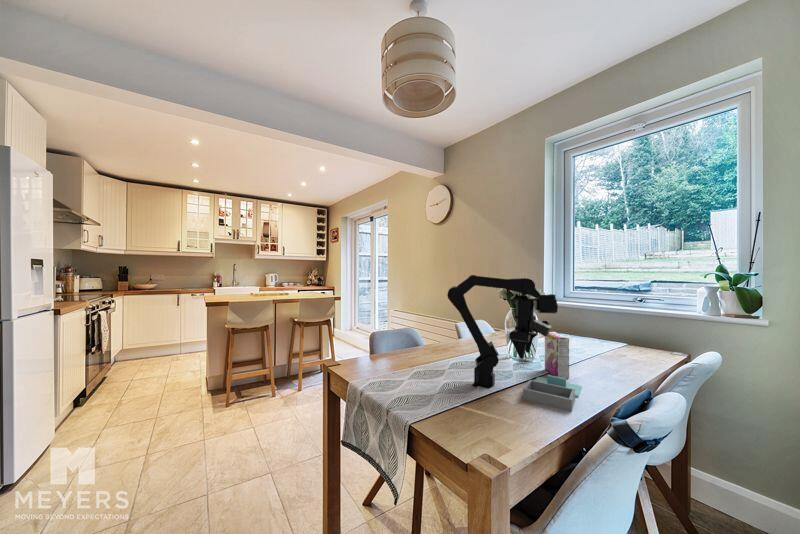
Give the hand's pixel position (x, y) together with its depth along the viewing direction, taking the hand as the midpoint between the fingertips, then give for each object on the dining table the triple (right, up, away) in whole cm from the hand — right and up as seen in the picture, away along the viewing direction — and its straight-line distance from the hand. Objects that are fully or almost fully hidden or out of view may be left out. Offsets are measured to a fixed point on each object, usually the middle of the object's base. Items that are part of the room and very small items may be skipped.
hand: (524, 355), depth 108 cm
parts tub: (+4, -12, -10) cm, 16 cm away
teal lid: (+12, -12, 0) cm, 17 cm away
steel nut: (+7, -11, -11) cm, 17 cm away
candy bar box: (+20, -13, +15) cm, 28 cm away
